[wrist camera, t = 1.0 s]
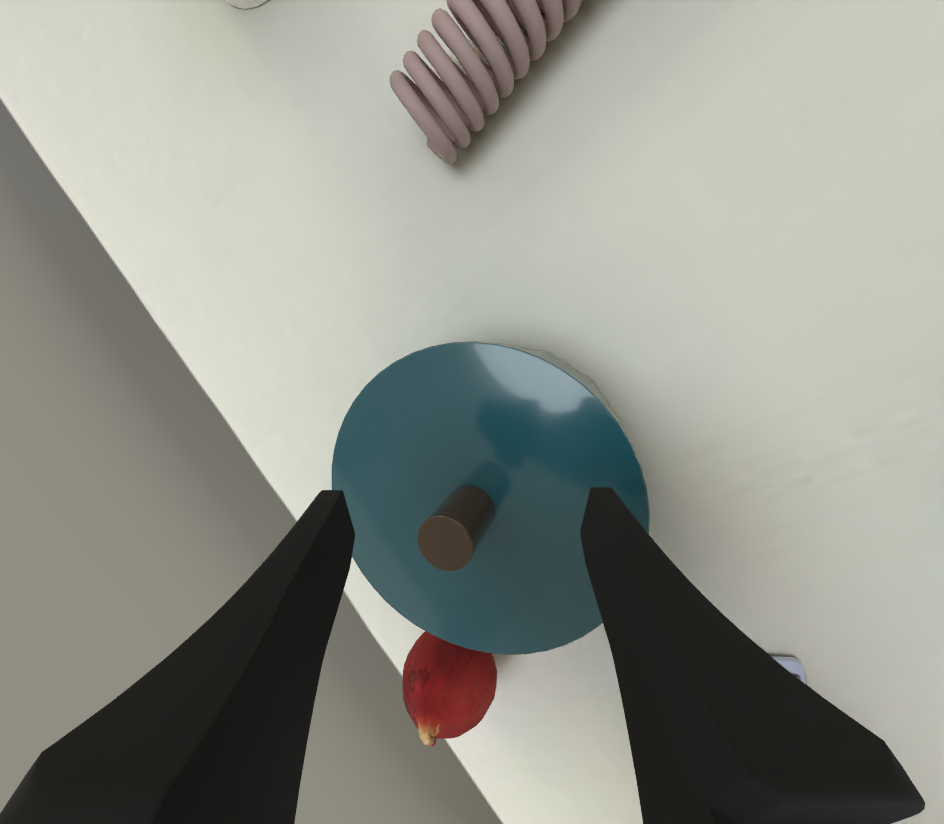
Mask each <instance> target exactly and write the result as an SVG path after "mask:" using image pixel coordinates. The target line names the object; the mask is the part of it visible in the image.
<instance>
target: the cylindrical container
mask: <svg viewBox="0 0 944 824" xmlns="http://www.w3.org/2000/svg"><path fill="white" fill-rule="evenodd" d="M225 1H226V2H227V3H229V4H231V5H233V6H235V7H237V8H245V9H248V8H253V7H257V6H259V5H261V4H263V3H265V2H266V1H268V0H225Z"/></svg>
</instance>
